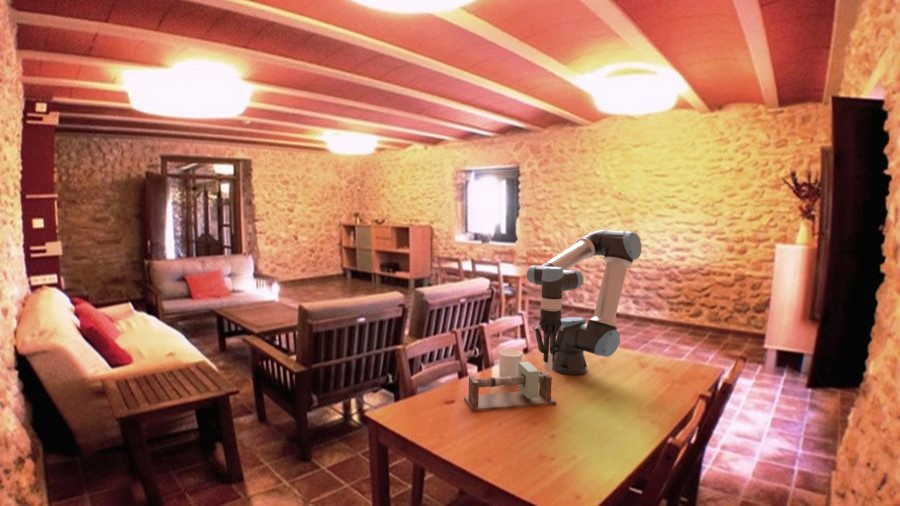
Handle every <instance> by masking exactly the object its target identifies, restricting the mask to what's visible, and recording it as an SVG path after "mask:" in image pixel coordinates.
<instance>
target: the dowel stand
mask: <svg viewBox="0 0 900 506" xmlns="http://www.w3.org/2000/svg"><path fill="white" fill-rule="evenodd" d="M552 379H553V377H552V376H551V375H550V374H549V373H547V372H546V370H545V371H544V370H543V371H539V390H538V398H527V397H526V396H525V395H524V394H523V393H522V392H521V391H513V392H512V391H511V392H498V393H497V392H496V393H486V394H480V393H479V388H495V387H502V386H518V384H525V382H526V376H512V377H500V376H499V377H493V376H492V377H491V376H490V377H486V378H485V377H484V378H476V376H475V375H474V376H473V375H472V376H468V395H464V396H463V398H464V401H465V403H466V405H467V406H468V408H469V410H470V411H471V413H475V412H486V411H497V410H498V411H499V410H509V409H521V408H531V407H535V408H536V407H543V406H556V405H557V401H556V400H555V399H554V398H553V397H552V383H553V381H552Z"/></svg>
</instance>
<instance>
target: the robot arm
mask: <svg viewBox="0 0 900 506" xmlns="http://www.w3.org/2000/svg"><path fill="white" fill-rule="evenodd" d="M641 254H642V241H641V238H640V236H639V235H638V234H637V233H636V232H634V231H628V230H611V229H610V230H609V229H600V230H595V231H592V232H590V233H587V234H586V235H584V236H582V237H580V238H579V239H577V241H576V243H575V244H573V245H571V246H570V247H569V248H567V249H565V250H563V252H561V253H559V254H557V255H556V256H553V258H551V259H550V260H548V261H546V262H544V263H542V264H541V265H538V264H537V265H530V266H529V267H528V269H527V271H526V279H527V281H528V282H529V283H531V284H532V285H533V284H535V285H538V286H541V296H540V307H541V309H540V313H539V314H540V321H539V323H538V325H537V326H533V327H532V329H533V332H534V333H535V337H536V342H537V347H538V348H537V349H538V351H539V352H540V353H541V354H543V360H542V361H543V362H544V364H545V365H544V370H545V371H547V372H548V373H552V372H553V371H555V372H557V373H559V374H560V373H561V374H563V375H568V376H569V375H572V376H573V375H574V376H577V375H578V376H579V375H583V374H586V373H587V370H588V366H587V362H586V361H587V360H586V359H585V358H586V356H585V354H584V352H587V353H590V354H593V355H596V356H598V357H600V356H601V357H605V358H608V357H611V356H613V354H614V353H615V352H616V351H617V350H618V348H619V345H620V343H621V334H620V332H619V331H618V330H617V329H618V326H617V324H616V322H615V320H616V315H617V313H618V308H619V303H620V300H621V295H622V292H623V287H624V283H625V279H626V275H627V271H628V267H631V266H632V265H633V262H634V261H636V260H638V259H639V258H640V256H641ZM595 256H600V257H601V256H604V257H603V260H604V261H605V268H604V273H603V276H602V280H601V284H600V287H599V288H600V289H599V292H598V297H597V301H596V303H595V308H594V314H593V316H592V317H590V318H589V319H588V322H587V323H586V319H585V318H584V317H577V316H571V317H570V316H569V317H562V310H561V309H562V307H563V305H562V304H563V292H567V291H573V290H574V291H575V290H577V289H580V288H581V287H582V286H583V284H584V275H583V274H582V272H581V271H579V270H577V269H572V268H573V267H575V266H576V265H577V264H579V263H580V262H583V261H584V260H585V259H591V258H592V257H595ZM542 331H543V332H542ZM541 332H542V333H543V335H542V333H541ZM542 336H543V337H542ZM552 369H553V370H552Z"/></svg>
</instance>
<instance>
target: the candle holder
mask: <svg viewBox="0 0 900 506" xmlns="http://www.w3.org/2000/svg"><path fill="white" fill-rule="evenodd" d="M523 355H524V354H523V351H521V350H518V349H516V348H515V349H514V348H503V349H500V350H499V351H498V363H499V364H498V369H499V370H498V371H499V373H498V374H499V377H512V376H518V366H519V362H523Z"/></svg>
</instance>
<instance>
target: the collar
mask: <svg viewBox="0 0 900 506" xmlns="http://www.w3.org/2000/svg"><path fill="white" fill-rule="evenodd" d="M539 375H540V370H538V369H537V368H536V367H535V366H534V365H533V363H531V362H530V361H522V362H519V366H518V376H526V382H525V384H518V385H517V388H518V390H519V391H520V392H522V393H523V394H524V395H525V396H526V397H527V398H538V390H539V384H540V383H539Z"/></svg>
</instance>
